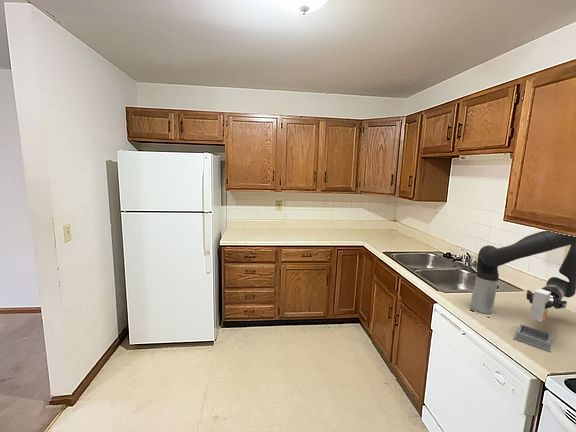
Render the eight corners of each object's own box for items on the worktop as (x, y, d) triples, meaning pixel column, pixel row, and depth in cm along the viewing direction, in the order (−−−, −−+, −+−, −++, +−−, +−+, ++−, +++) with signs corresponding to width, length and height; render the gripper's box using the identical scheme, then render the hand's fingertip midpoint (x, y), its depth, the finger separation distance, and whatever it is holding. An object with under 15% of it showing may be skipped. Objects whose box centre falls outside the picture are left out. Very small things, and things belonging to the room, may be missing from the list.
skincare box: (541, 322, 123) (547, 294, 121) (529, 318, 126) (534, 291, 124) (546, 318, 126) (551, 291, 124) (533, 314, 130) (538, 288, 128)
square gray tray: (513, 339, 128) (514, 332, 127) (517, 329, 136) (518, 322, 136) (550, 352, 120) (552, 344, 119) (552, 340, 128) (553, 333, 128)
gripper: (532, 281, 138) (519, 289, 128) (574, 292, 127) (563, 302, 117) (529, 296, 140) (516, 305, 130) (570, 309, 128) (559, 319, 118)
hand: (538, 303), depth 123 cm, fingers closed on skincare box, 4 cm apart
